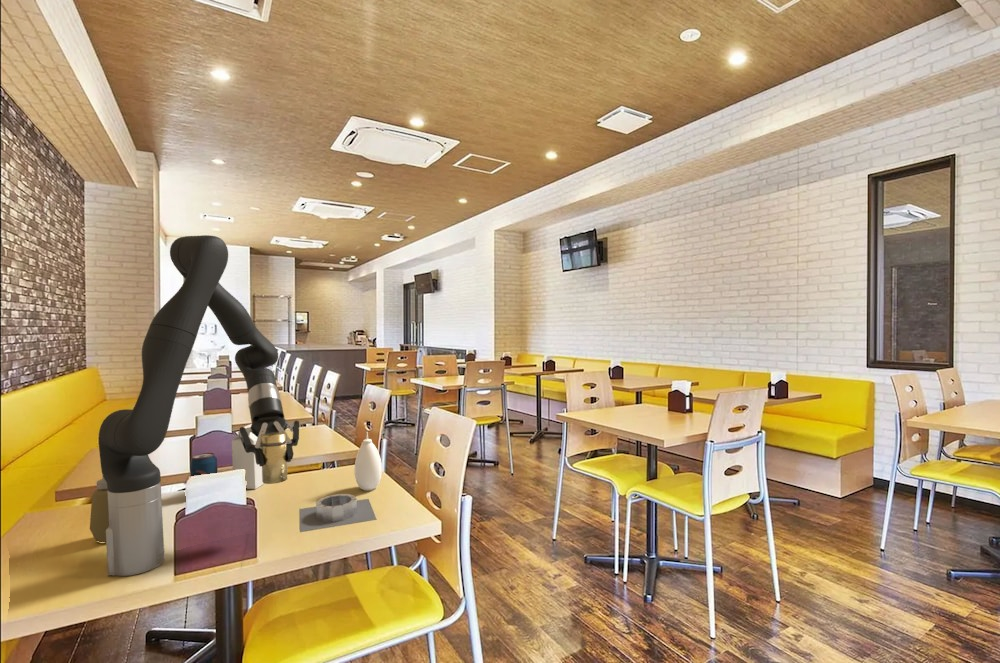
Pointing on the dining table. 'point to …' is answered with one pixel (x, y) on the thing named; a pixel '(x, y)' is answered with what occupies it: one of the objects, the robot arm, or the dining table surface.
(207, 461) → the soda can
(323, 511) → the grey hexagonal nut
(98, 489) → the squeeze bottle
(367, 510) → the mat
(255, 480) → the milk carton
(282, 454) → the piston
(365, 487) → the sauce bottle
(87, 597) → the dining table surface
